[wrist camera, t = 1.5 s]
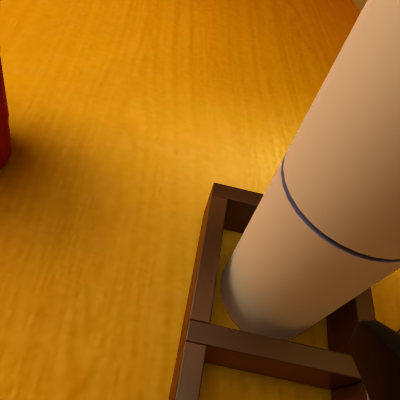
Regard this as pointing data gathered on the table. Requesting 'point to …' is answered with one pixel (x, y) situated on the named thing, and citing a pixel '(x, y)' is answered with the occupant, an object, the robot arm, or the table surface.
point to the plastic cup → (4, 124)
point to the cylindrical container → (328, 194)
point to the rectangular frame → (249, 342)
